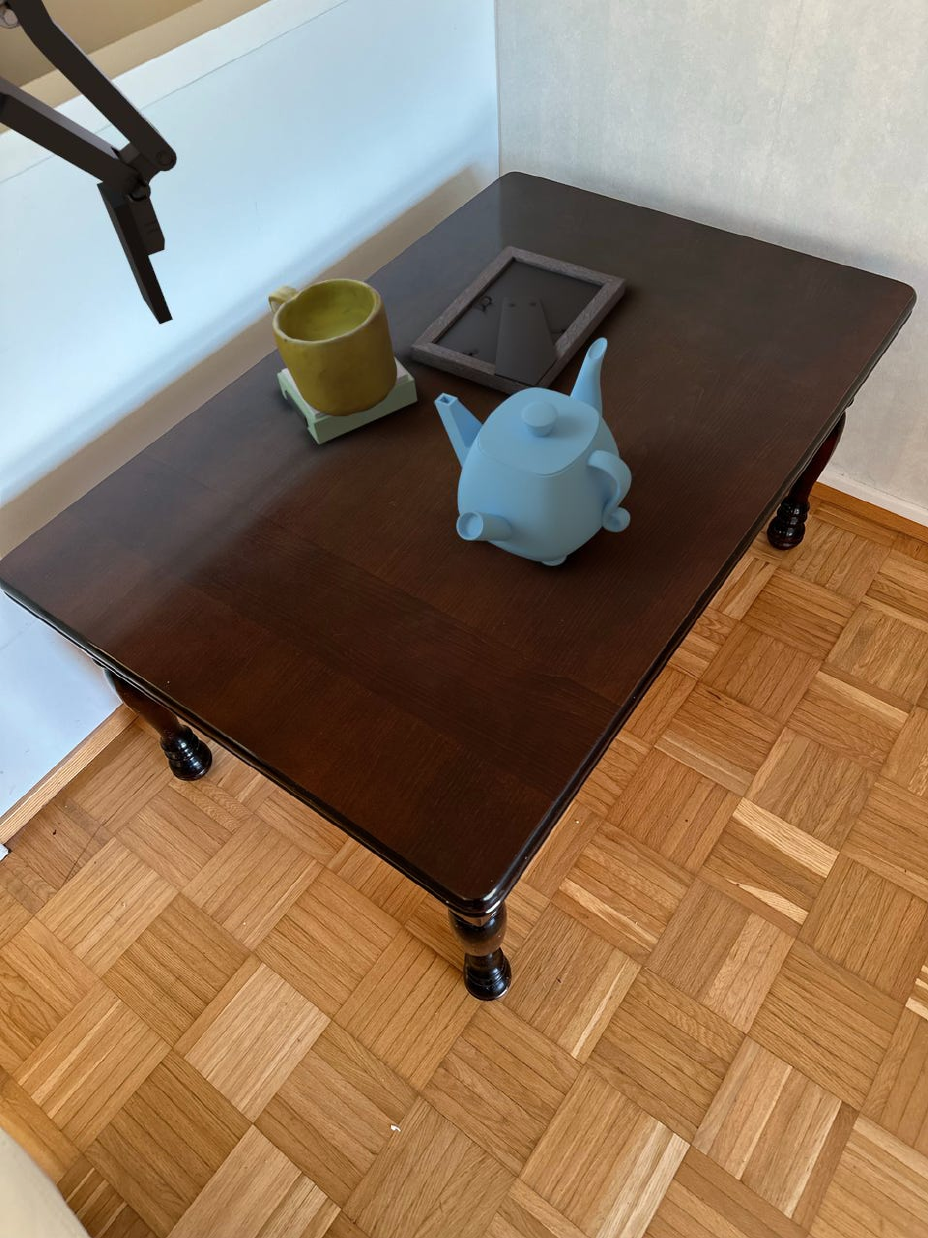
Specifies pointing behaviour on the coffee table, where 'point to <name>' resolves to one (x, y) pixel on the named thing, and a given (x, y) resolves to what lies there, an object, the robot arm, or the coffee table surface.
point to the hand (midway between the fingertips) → (35, 357)
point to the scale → (334, 426)
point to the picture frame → (519, 321)
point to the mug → (335, 344)
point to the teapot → (539, 468)
